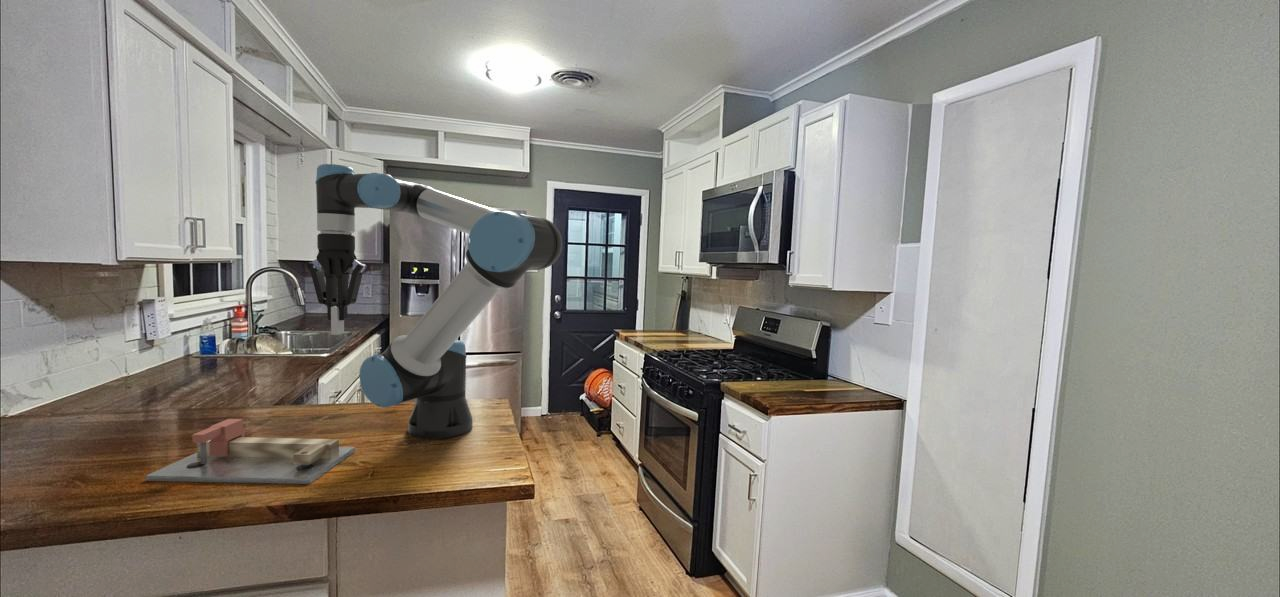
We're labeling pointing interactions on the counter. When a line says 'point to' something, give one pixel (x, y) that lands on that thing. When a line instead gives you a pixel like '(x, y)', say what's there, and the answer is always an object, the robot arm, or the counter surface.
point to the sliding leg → (218, 437)
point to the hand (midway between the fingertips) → (337, 333)
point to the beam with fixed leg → (281, 448)
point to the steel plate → (247, 469)
